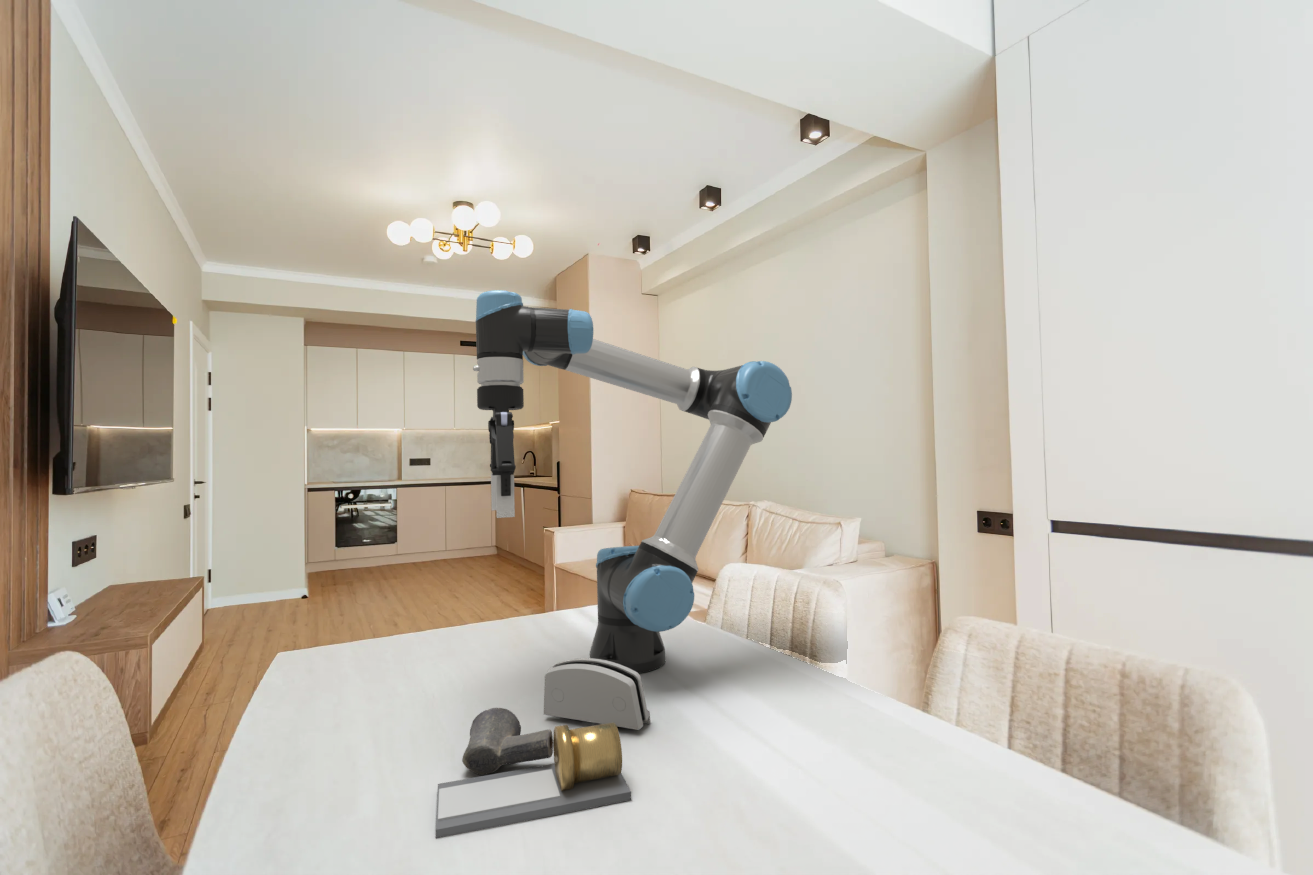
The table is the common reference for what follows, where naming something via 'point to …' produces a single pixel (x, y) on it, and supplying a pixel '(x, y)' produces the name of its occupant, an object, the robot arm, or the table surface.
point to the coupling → (586, 753)
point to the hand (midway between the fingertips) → (502, 513)
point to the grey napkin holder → (596, 693)
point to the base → (518, 799)
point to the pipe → (503, 742)
